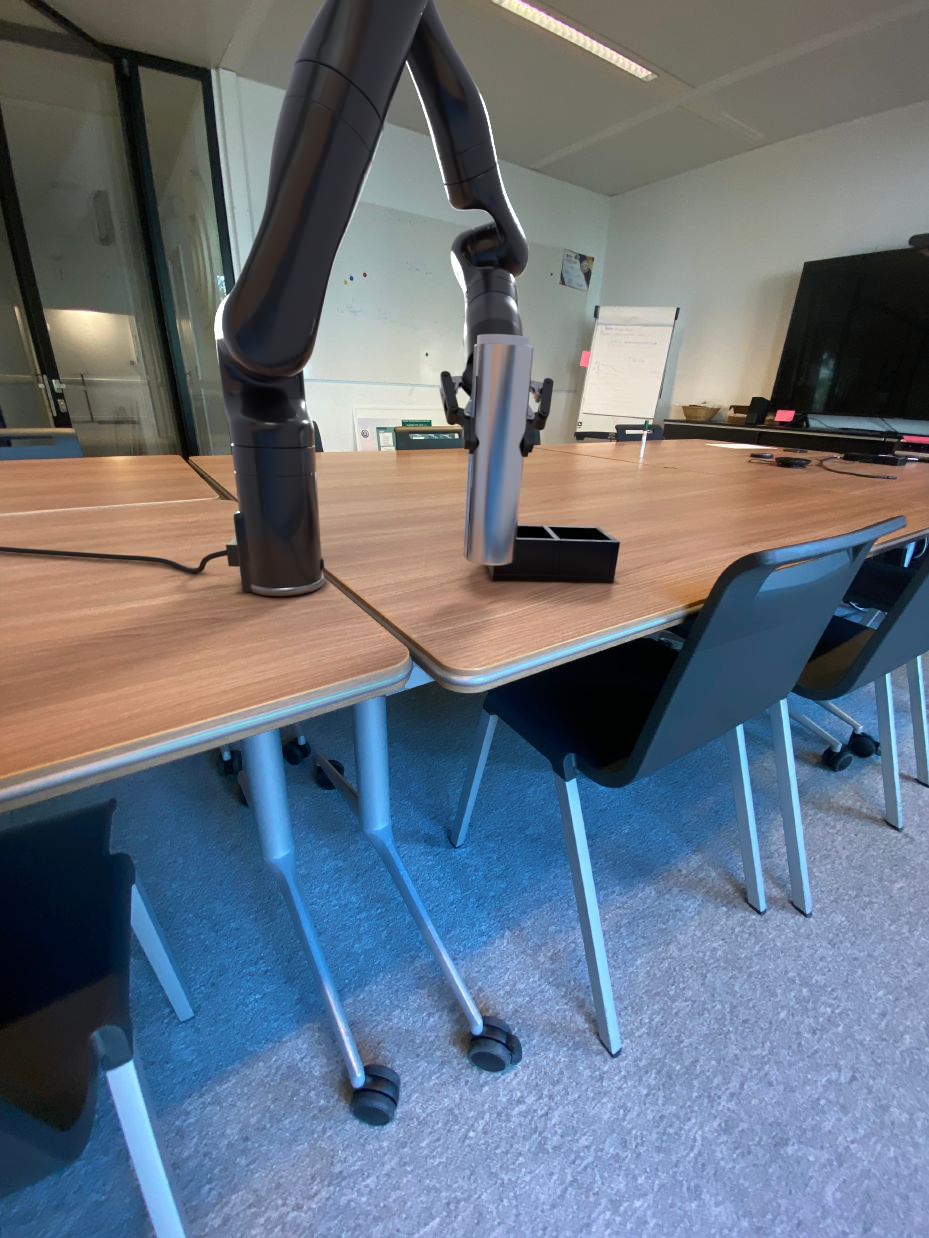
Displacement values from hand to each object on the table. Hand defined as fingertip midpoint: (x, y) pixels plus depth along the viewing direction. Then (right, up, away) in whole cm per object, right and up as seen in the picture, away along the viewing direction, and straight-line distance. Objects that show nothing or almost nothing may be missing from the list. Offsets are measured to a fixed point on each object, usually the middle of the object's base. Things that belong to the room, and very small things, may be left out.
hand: (499, 450), depth 60 cm
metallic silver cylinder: (-1, -12, +7) cm, 14 cm away
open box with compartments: (+8, -12, +19) cm, 24 cm away
